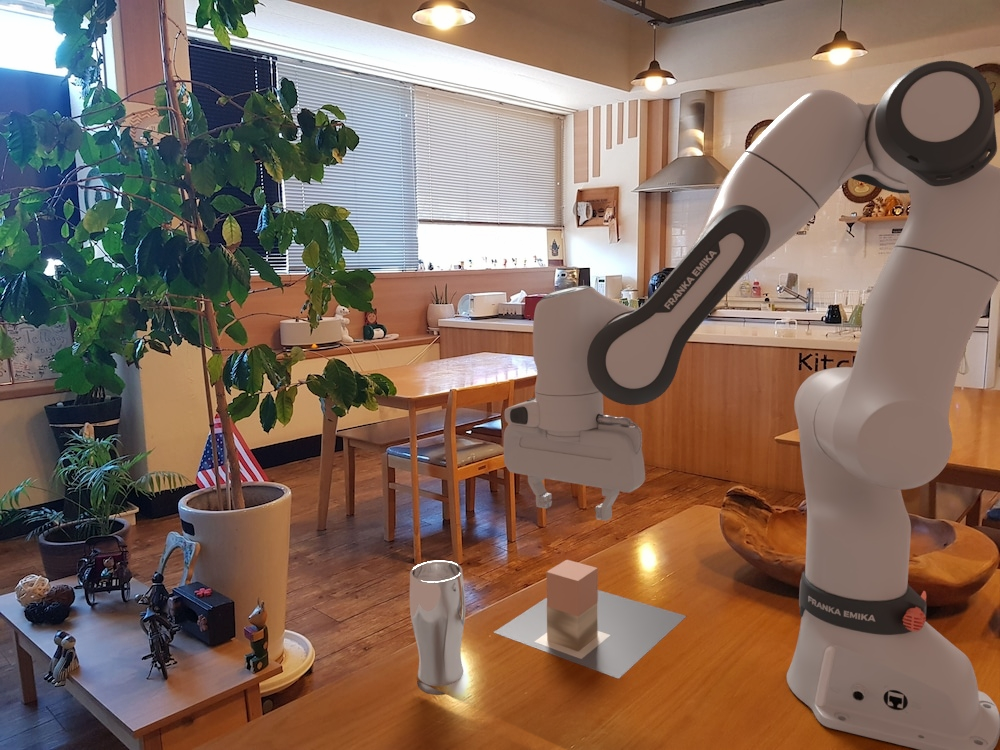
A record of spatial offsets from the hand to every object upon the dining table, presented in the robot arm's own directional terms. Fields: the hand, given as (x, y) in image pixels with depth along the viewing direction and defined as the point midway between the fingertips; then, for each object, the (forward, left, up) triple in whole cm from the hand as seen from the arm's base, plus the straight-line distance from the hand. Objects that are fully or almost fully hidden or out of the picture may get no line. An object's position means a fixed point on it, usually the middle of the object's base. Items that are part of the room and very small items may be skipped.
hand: (573, 512), depth 100 cm
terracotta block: (0, 0, -13) cm, 13 cm away
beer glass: (+9, +17, -20) cm, 28 cm away
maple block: (0, 0, -18) cm, 18 cm away
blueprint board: (0, -5, -19) cm, 20 cm away
